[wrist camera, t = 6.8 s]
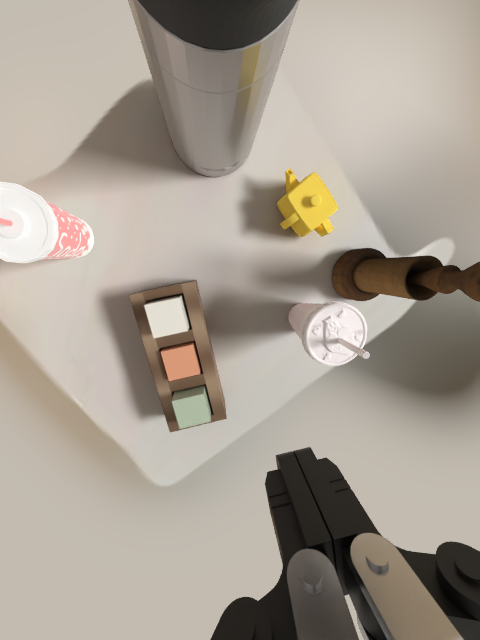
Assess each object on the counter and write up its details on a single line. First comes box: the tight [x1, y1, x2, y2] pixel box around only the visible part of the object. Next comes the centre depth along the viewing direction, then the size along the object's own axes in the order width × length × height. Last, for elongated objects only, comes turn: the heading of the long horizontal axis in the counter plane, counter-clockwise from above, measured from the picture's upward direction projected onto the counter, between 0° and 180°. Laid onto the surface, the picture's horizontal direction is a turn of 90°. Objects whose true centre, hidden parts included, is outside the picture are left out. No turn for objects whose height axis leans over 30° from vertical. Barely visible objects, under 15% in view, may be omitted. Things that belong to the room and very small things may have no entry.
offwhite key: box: [144, 295, 190, 338], centre depth 27 cm, size 4×4×3 cm
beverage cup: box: [0, 182, 94, 263], centre depth 22 cm, size 6×6×14 cm
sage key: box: [172, 384, 211, 429], centre depth 30 cm, size 4×4×3 cm
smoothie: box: [288, 301, 369, 366], centre depth 27 cm, size 6×6×14 cm
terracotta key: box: [161, 340, 201, 381], centre depth 30 cm, size 4×4×3 cm
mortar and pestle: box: [332, 248, 480, 302], centre depth 24 cm, size 7×6×18 cm
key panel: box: [129, 280, 227, 432], centre depth 31 cm, size 17×7×4 cm, turn 12°
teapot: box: [277, 168, 338, 237], centre depth 28 cm, size 8×6×5 cm
